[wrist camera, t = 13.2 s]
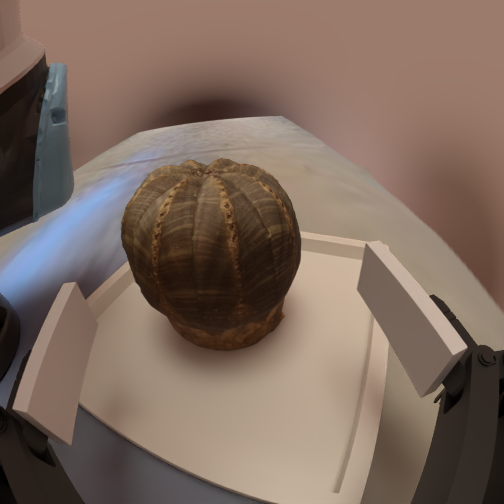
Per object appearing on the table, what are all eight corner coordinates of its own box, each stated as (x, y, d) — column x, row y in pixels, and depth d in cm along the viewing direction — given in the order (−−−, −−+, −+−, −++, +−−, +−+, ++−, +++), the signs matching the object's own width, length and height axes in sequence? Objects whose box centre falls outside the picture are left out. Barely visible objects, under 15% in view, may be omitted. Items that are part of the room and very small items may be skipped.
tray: (45, 374, 17) (30, 356, 16) (185, 233, 35) (181, 216, 34) (343, 518, 9) (355, 517, 7) (383, 265, 27) (388, 245, 26)
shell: (132, 354, 18) (65, 203, 12) (192, 268, 27) (170, 145, 20) (278, 394, 16) (280, 210, 9) (305, 283, 24) (310, 143, 18)
